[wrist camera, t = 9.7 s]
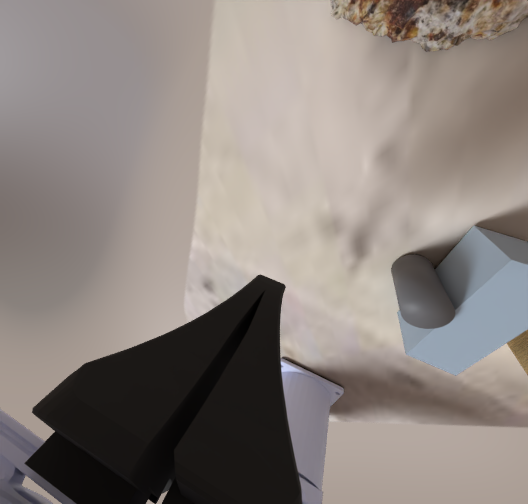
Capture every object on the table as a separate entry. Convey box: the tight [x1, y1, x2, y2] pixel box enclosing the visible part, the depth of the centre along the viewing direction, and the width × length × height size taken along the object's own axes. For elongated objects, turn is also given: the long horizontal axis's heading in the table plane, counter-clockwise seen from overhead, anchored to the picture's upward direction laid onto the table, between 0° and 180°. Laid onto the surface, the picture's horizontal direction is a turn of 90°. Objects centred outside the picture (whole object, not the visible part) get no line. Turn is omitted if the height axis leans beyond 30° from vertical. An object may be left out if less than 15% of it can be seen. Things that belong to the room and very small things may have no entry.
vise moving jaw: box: [391, 226, 528, 376], centre depth 13 cm, size 8×6×4 cm
